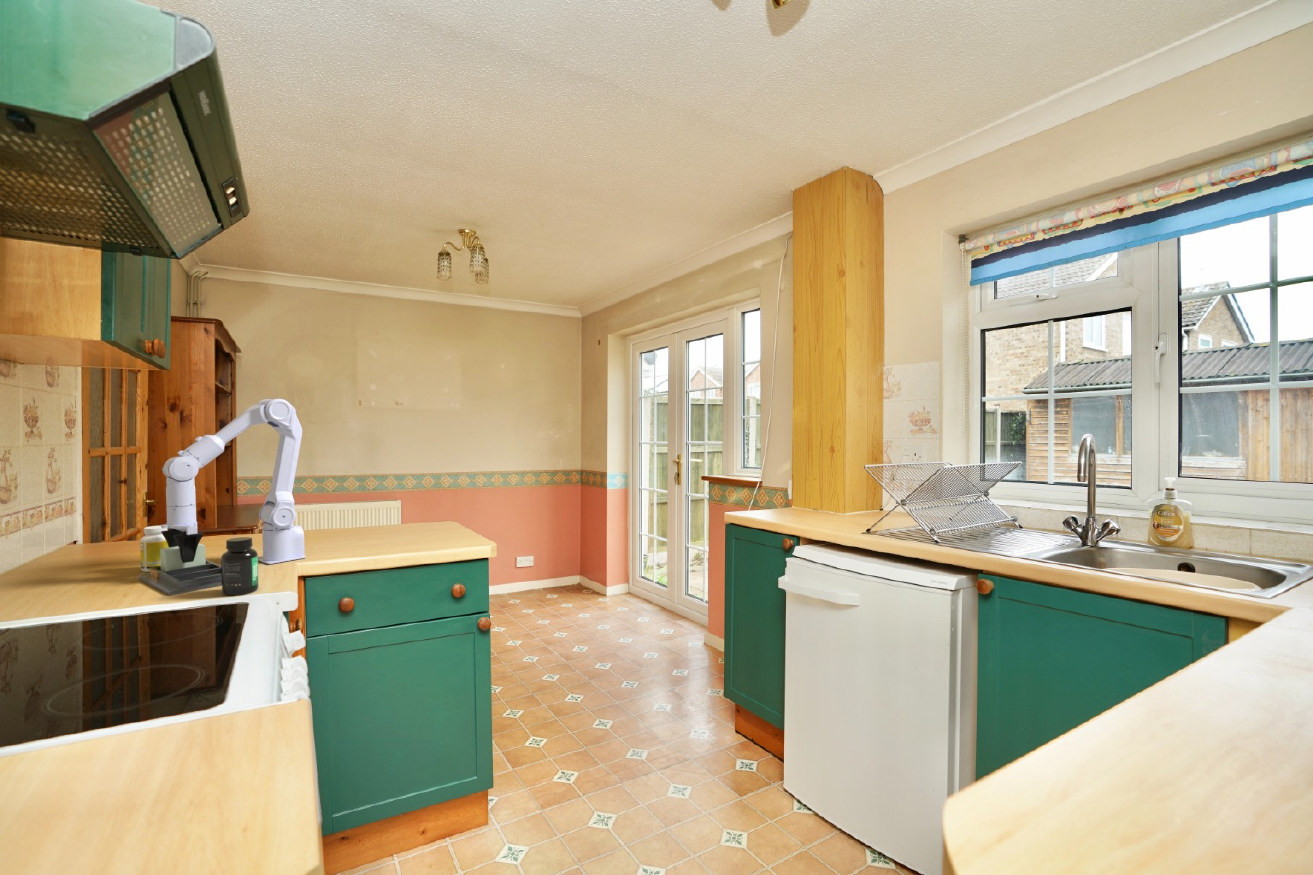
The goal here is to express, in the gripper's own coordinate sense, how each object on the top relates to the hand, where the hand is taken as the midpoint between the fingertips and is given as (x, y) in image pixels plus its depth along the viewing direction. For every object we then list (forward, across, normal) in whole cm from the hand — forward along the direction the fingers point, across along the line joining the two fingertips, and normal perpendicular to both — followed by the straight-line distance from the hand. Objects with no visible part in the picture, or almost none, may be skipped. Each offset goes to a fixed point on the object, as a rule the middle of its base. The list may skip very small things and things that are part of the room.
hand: (182, 559), depth 150 cm
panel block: (+3, 0, 0) cm, 3 cm away
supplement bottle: (+4, +27, +3) cm, 27 cm away
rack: (+4, +7, 0) cm, 8 cm away
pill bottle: (+4, -12, -2) cm, 13 cm away
